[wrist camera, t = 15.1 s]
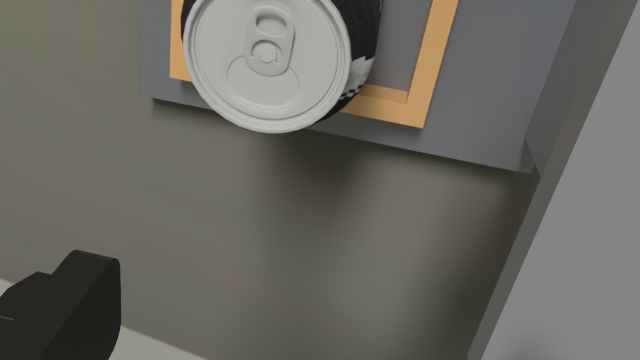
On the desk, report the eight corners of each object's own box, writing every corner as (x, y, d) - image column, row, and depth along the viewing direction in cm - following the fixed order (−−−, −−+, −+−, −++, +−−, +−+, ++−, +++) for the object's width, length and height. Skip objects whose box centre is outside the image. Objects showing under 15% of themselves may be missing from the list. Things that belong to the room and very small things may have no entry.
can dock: (668, -202, 23) (1151, -236, 8) (526, 159, 31) (631, 471, 16) (154, -296, 23) (-295, -494, 8) (151, 84, 32) (-78, 318, 17)
